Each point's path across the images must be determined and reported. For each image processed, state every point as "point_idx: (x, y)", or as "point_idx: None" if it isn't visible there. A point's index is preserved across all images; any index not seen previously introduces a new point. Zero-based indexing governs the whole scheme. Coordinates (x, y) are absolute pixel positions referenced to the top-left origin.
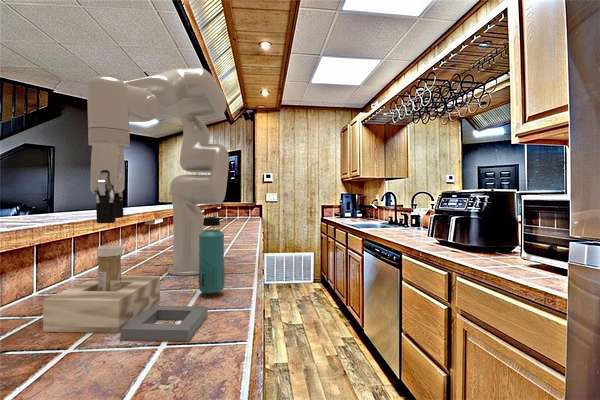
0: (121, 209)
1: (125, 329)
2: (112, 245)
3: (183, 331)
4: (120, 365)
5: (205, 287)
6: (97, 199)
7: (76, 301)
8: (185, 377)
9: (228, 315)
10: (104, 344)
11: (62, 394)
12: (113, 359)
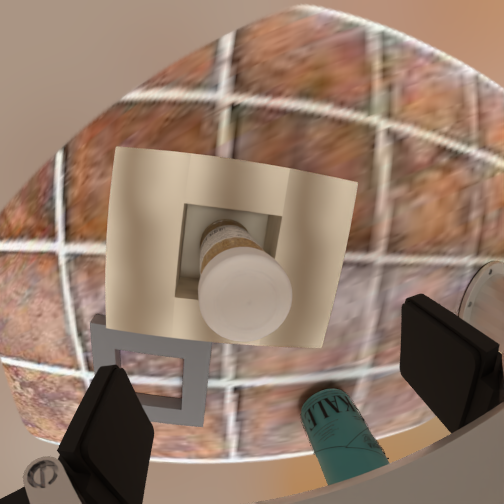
0: (425, 397)
1: (90, 330)
2: (274, 301)
3: None
4: (36, 337)
5: (304, 411)
6: (26, 481)
7: (108, 231)
8: (33, 401)
9: (204, 438)
10: (82, 294)
11: None
12: (45, 324)
